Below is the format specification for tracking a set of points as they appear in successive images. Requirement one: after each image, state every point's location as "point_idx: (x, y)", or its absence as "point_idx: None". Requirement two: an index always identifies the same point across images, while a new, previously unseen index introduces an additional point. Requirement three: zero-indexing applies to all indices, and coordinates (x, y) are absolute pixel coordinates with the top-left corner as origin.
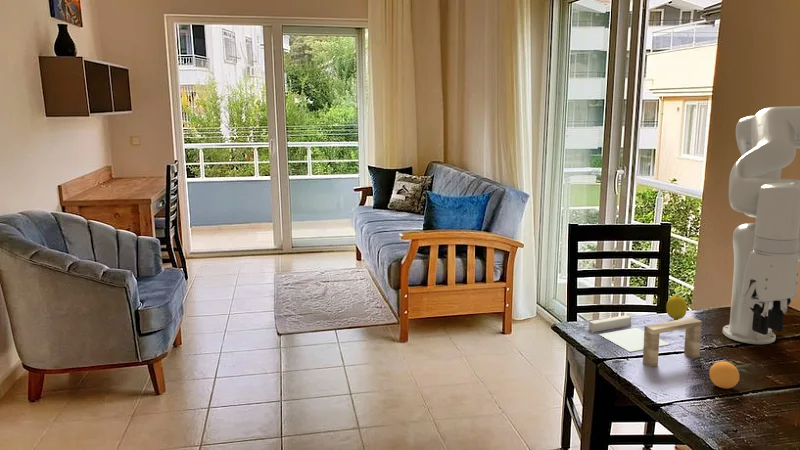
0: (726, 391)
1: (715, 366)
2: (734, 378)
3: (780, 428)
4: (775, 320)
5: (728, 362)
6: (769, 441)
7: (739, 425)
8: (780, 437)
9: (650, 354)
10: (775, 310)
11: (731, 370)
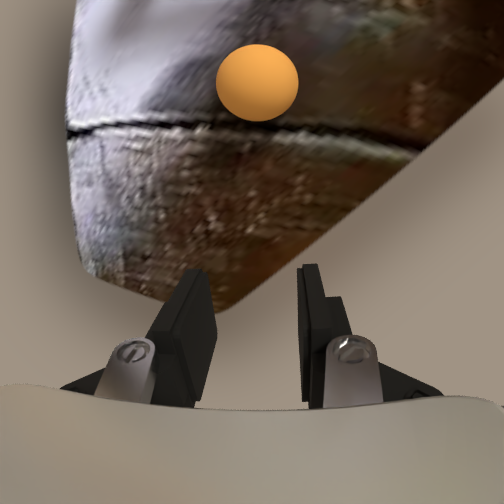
0: None
1: (225, 72)
2: (257, 120)
3: (234, 278)
4: (300, 345)
5: (269, 76)
6: None
7: (165, 245)
8: None
9: None
10: (310, 381)
11: (252, 108)
